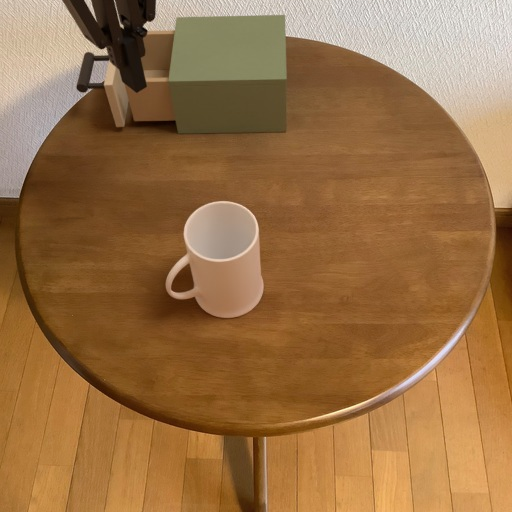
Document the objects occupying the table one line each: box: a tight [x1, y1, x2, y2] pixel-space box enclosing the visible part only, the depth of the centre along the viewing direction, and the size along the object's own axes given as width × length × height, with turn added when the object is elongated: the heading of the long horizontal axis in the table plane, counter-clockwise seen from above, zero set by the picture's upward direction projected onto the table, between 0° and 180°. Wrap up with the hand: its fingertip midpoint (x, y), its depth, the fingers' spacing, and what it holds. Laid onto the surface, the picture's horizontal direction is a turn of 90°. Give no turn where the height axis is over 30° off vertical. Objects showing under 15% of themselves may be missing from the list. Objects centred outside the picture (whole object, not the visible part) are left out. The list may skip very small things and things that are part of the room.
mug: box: [165, 200, 265, 319], centre depth 72 cm, size 12×8×12 cm
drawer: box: [75, 26, 176, 128], centre depth 92 cm, size 20×13×8 cm, turn 89°
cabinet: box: [168, 14, 288, 135], centre depth 92 cm, size 16×14×10 cm
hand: (134, 84), depth 72 cm, fingers closed
